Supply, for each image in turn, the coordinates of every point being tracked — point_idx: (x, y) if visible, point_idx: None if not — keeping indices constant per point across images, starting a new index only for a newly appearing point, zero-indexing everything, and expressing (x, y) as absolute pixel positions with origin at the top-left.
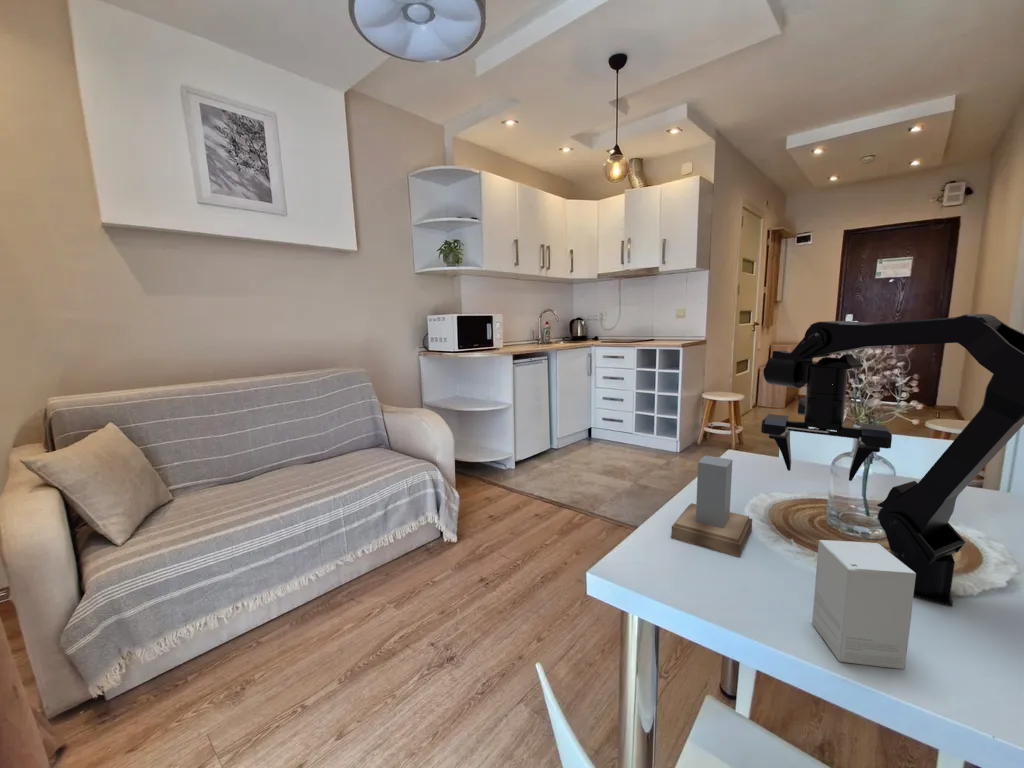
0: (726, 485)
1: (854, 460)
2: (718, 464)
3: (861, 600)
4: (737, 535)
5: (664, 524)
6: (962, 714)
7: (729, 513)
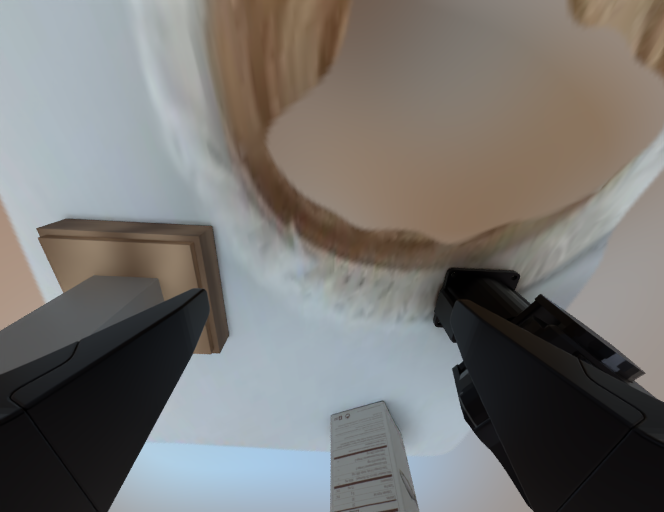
0: None
1: (522, 483)
2: None
3: None
4: (204, 341)
5: None
6: (425, 451)
7: (150, 287)
